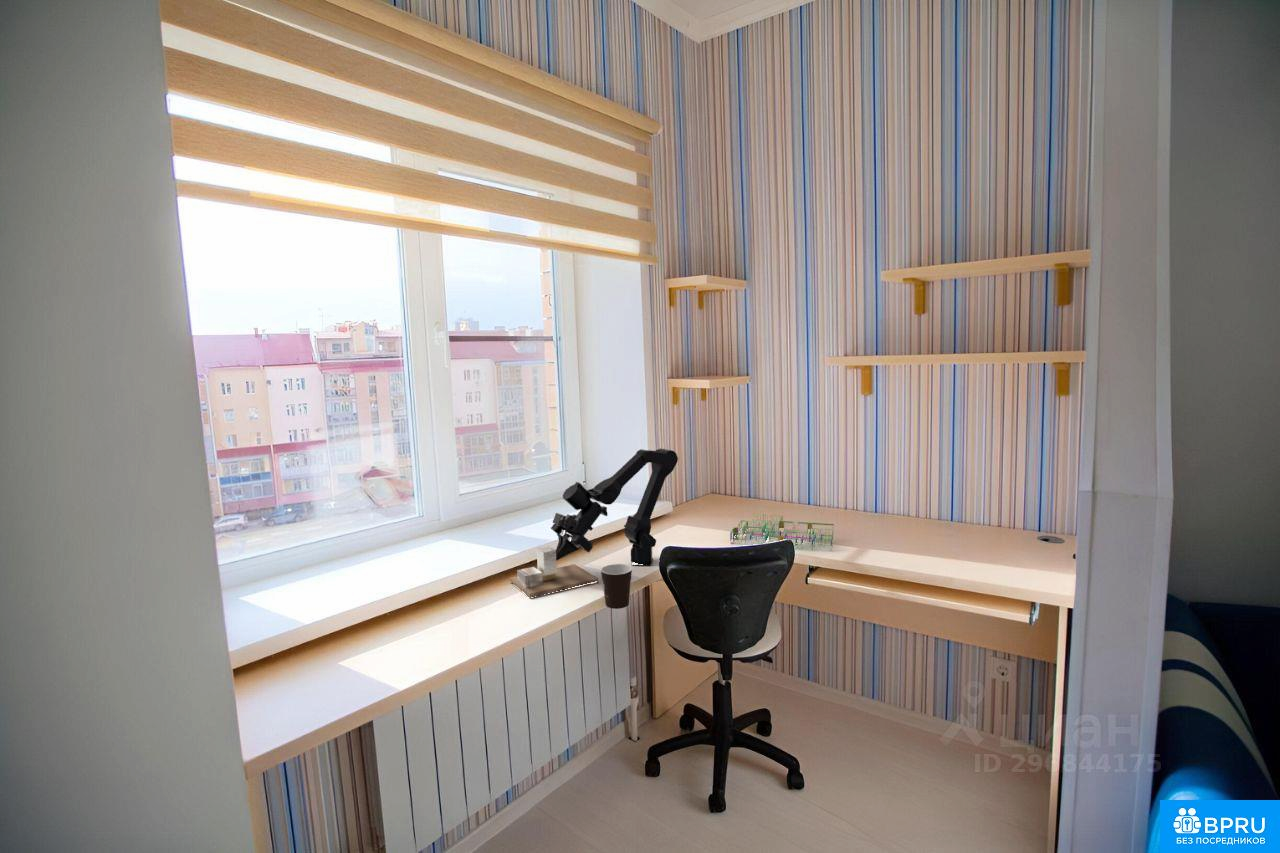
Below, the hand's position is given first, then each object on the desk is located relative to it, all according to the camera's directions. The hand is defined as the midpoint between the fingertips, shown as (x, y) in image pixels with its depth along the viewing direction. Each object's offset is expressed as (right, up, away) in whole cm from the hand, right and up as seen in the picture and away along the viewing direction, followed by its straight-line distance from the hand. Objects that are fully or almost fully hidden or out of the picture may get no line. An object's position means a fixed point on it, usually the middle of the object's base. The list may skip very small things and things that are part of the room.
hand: (554, 559), depth 193 cm
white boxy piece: (-4, -6, -2) cm, 7 cm away
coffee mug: (+20, -9, -16) cm, 27 cm away
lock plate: (-1, -7, 0) cm, 7 cm away
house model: (+80, -1, +44) cm, 91 cm away
